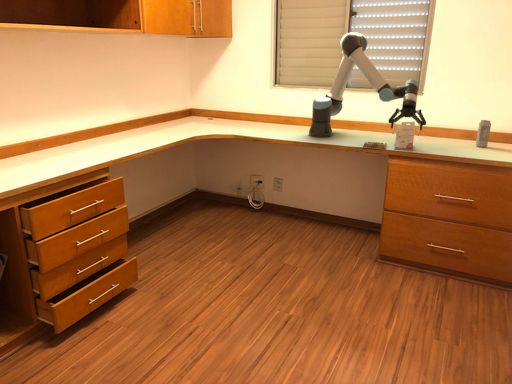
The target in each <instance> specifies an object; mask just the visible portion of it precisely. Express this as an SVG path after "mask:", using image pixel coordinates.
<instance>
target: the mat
mask: <svg viewBox="0 0 512 384" xmlns="http://www.w3.org/2000/svg"><path fill="white" fill-rule="evenodd" d="M393 149H394V150H395V151H396V150H397V151H399V150H400V151H411V152H414V146H413V147H412V148H398V147H395V146H394V148H393Z"/></svg>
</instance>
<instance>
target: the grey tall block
mask: <svg viewBox="0 0 512 384" xmlns="http://www.w3.org/2000/svg"><path fill="white" fill-rule="evenodd" d="M491 122H492V121H491V120H489V119H481V120H480V121H479V123H478V128H477V135H476V141H475V147H478V148H482V149H483V148H487V147H488V146H489V145H488V144H489V137H490V132H491V126H492V123H491Z"/></svg>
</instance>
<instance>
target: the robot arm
mask: <svg viewBox="0 0 512 384" xmlns="http://www.w3.org/2000/svg"><path fill="white" fill-rule="evenodd" d="M340 48H341V50H342V51H341V53H342V56H343V57H342V58H341V61H340V64H339V67H338V69H337V72H336V75H335V77H334V80H333V82H332V85H331V88H330V90H329V91H328V92H326V94H325V96H324V97H317V98H315V99H313V100H312V101H313V102H312V113H311V114H312V117H311V125H310V128H309V131H308V135H309V136H310V137H316V138H328V137H332V136H333V129H332V124H331V117H334V116H337V115H338V114H340V112H342V110H343V101H344V98H343V96H344V92H345V90H346V88H347V86H348V83H349V80H350V77H351V75H352V73H353V70H354V67H355V65H356V67H357V68H358V69H359V70H360V72H361V74H363V76H364V77H365V78H366V79H367V81H368V82H369V83H370V84H371V86H372V87H373V88H374V90H375V91H376V93H377V94H378V98H379V100H380V101H382V102H383V103H388V102H391V101H395V100H400V99H403V101H402V107H401V109H399V108H398V107H396V109H395V111H394V112H393V113H392V115H391V117H389V118H388V124H390V129H392V130H391V135H394V134H395V125H396V123H397V122H398V121H399V120H401V119H403V118H409V119H410V118H412V119H413V120H414V122H415V123H417V124H418V129H417V137H419V136H420V131H422V130H423V126H426V125H427V121H426V119H425V117H424V115H423V113H422V109H421V108H420V109H419V110H417V101H418V93H419V82H418V81H417V80H416V79H412V78H411V79H408V80H406V82H405V83H404V84H401V85H395V86H391V85H390V84H389V82H387V80H386V79H385V78H384V76H383V75H382V73H381V72H380V71H379V70H378V69H377V67H376V66H375V65H374V63H373V62H372V60H370V58H369V57H368V56H367V55H366V53H365V51H366V49H367V48H368V39H367V37H366V36H365V34H362V33H359V32H347V33H346V34H344V35H343V36H342V38H341V40H340ZM417 115H418V116H417Z"/></svg>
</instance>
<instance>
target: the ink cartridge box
mask: <svg viewBox="0 0 512 384" xmlns="http://www.w3.org/2000/svg"><path fill="white" fill-rule="evenodd" d="M415 125H416V121H402V122H401V125H399V126H398V125H397V126H396V133H395V134H396V135H395V143H394V148H395V147H398V148H412V147H413V148H414V138H415V130H416V126H415Z"/></svg>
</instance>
